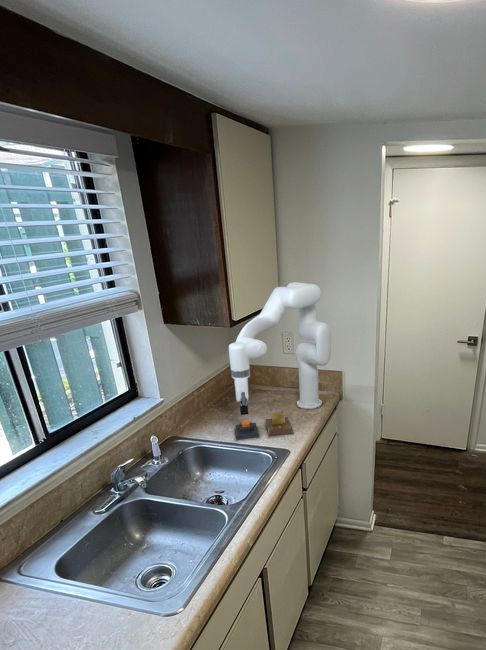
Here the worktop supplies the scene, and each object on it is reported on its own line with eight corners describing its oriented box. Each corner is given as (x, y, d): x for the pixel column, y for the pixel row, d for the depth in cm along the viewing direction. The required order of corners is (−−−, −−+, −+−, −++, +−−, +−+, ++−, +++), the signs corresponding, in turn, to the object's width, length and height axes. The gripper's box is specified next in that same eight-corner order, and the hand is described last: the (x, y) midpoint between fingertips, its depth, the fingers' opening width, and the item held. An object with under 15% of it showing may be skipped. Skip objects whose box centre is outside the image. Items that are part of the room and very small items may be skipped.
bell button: (241, 424, 189) (241, 421, 188) (249, 423, 190) (249, 420, 189) (242, 428, 186) (241, 424, 185) (250, 427, 187) (250, 423, 186)
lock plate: (266, 425, 197) (265, 418, 195) (288, 422, 199) (287, 416, 198) (269, 436, 186) (268, 430, 185) (292, 434, 189) (292, 427, 187)
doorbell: (235, 429, 193) (234, 421, 191) (256, 426, 195) (255, 418, 194) (237, 440, 183) (236, 431, 182) (258, 437, 186) (257, 429, 184)
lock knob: (272, 424, 190) (271, 413, 188) (272, 423, 192) (271, 412, 189) (285, 423, 191) (284, 412, 189) (284, 421, 193) (283, 411, 191)
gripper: (230, 368, 184) (234, 408, 191) (232, 379, 171) (236, 422, 178) (248, 366, 186) (251, 406, 193) (251, 377, 172) (255, 419, 180)
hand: (244, 413), depth 185 cm, fingers closed
